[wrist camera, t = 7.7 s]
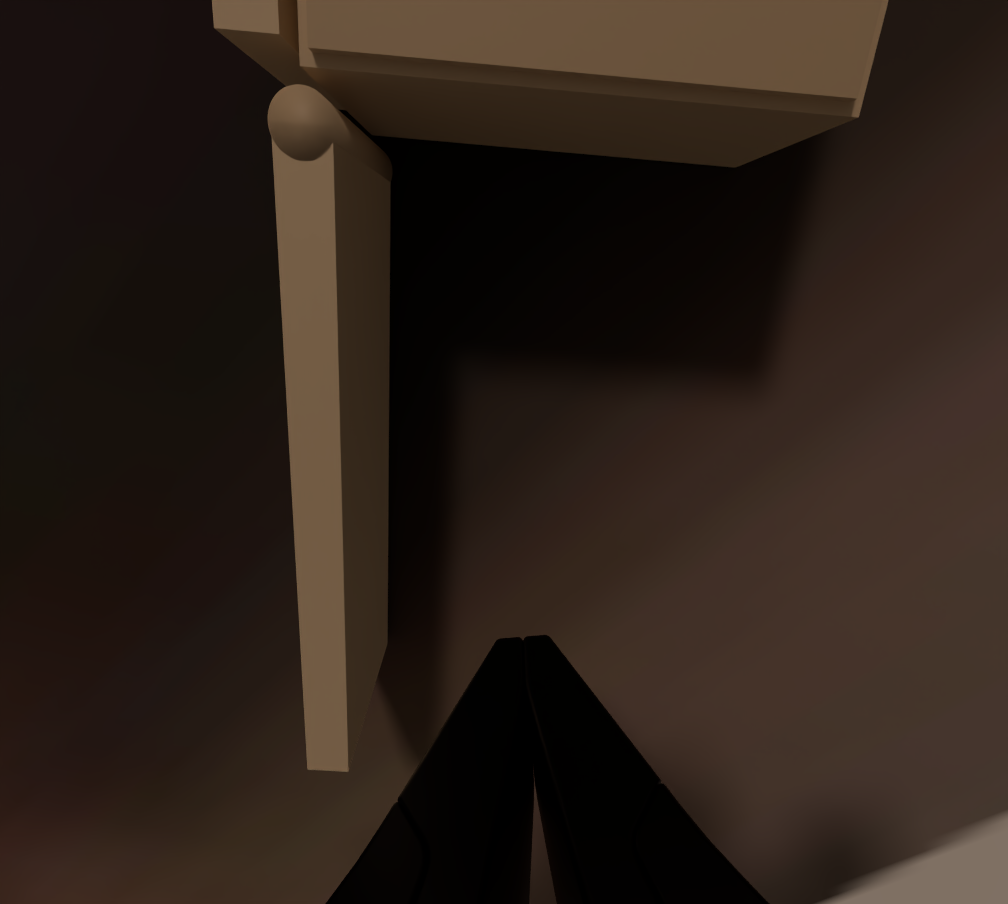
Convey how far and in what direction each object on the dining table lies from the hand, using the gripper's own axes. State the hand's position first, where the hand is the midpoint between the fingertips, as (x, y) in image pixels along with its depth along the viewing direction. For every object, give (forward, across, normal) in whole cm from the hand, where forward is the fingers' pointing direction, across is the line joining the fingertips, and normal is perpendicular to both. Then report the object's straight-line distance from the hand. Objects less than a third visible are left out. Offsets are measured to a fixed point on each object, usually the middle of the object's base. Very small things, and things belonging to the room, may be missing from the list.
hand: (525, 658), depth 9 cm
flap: (+8, +4, -2) cm, 9 cm away
